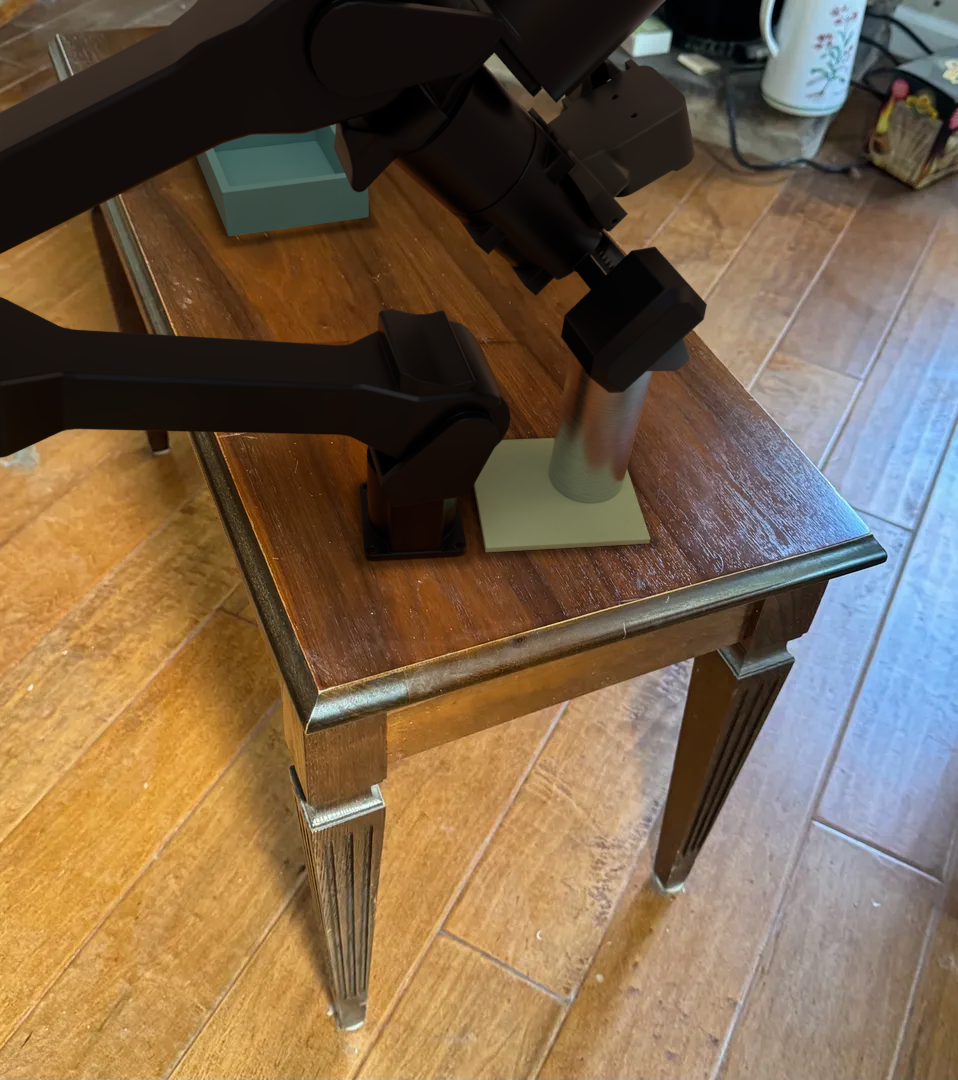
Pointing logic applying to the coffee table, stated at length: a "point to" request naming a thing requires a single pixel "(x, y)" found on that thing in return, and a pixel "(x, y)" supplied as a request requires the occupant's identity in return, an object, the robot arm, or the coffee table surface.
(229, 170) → the teal open box
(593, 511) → the placemat
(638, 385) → the bottle
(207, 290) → the coffee table surface
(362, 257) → the coffee table surface
